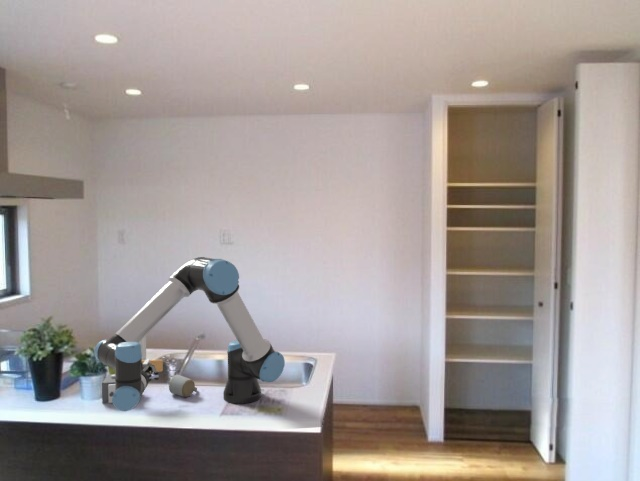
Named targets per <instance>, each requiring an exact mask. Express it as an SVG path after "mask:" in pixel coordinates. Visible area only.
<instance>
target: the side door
mask: <svg viewBox="0 0 640 481" xmlns="http://www.w3.org/2000/svg"><path fill="white" fill-rule="evenodd" d="M144 361H145V360H142V364H143V363H144ZM163 362H164V361H163V359H150V363H151V365H155V368H156V371H158V372H159V373H161V372H163V371H164V366H163V365H164V363H163ZM150 373H151V371H150ZM114 392H115V384H109V385H108V400H109V404H113V402H112V398H113V394H114Z"/></svg>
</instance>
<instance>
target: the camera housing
mask: <svg viewBox="0 0 640 481" xmlns="http://www.w3.org/2000/svg"><path fill="white" fill-rule="evenodd" d="M109 384H115V374H109V373H108V374H107V375H106V377H105V378H104V379H103V381H102V382H101V395H102V396H101V397H102V398H101V399H102V400H101V401H102V404H106V403H109V400H108V385H109ZM109 404H110V403H109Z"/></svg>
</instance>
